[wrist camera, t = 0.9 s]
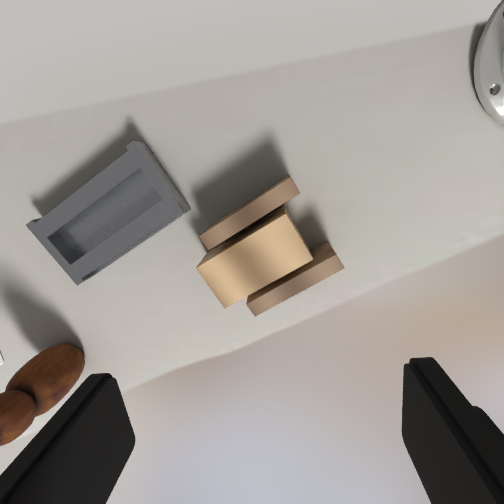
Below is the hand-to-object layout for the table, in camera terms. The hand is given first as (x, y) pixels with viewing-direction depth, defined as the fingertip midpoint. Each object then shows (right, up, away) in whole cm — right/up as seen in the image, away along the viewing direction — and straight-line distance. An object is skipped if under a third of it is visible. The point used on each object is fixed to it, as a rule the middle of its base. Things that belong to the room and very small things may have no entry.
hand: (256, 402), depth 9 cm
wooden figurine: (-24, -9, +28) cm, 38 cm away
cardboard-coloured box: (0, +5, +22) cm, 23 cm away
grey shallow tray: (-15, +9, +22) cm, 28 cm away
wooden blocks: (+2, +6, +21) cm, 22 cm away
